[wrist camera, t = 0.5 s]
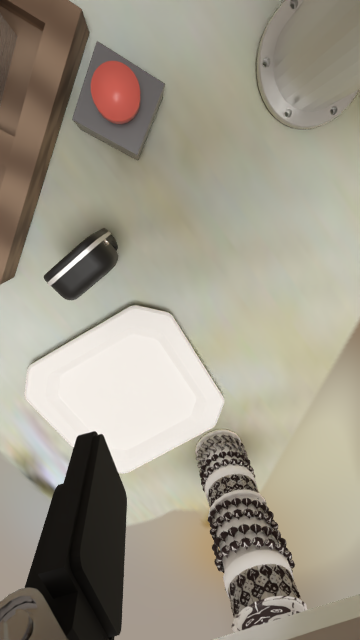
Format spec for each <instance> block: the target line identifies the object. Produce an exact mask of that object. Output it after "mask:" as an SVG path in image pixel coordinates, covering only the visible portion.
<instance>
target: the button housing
mask: <svg viewBox="0 0 360 640" xmlns="http://www.w3.org/2000/svg"><path fill="white" fill-rule="evenodd" d="M107 61H118V62H121V63H123V64H125V65H126V66H128V67H129V68H130V69H131V70H132V71H133V73H134V74H135V76H136V78H137V80H138V83H139V87H140V107H139V110H138V112H137V114H136V116H135V117H134V118H133V119H132V120H131V121H129V122H127V123H124V124H115V123H112V122H110V121H108V120H106V119H105V118H104V117H103V116H102V115H101V114H100V112H99V111H98V109H97V107H96V105H95V103H94V101H93V98H92V94H91V80H92V76H93V74H94V72H95V70H96V69H97V68H98V67H99V66H100V65H101V64H102V63H105V62H107ZM164 86H165V83H163V82H161V81H160V80H158V79H157V78H155V77H153V76H152V75H150V74H149V73H147V72H145V71H144V70H142V69H141V68H139V67H138V66H136V65H134V64H133V63H131V62H130V61H128V60H126V59H125V58H123V57H122V56H120V55H118V54H117V53H115V52H114V51H112V50H111V49H109V48H107V47H106V46H104V45H103V44H101V43H99V42H98V41H97V43H96V46H95V49H94V52H93V55H92V58H91V61H90V65H89V68H88V71H87V74H86V77H85V80H84V84H83V87H82V90H81V93H80V96H79V99H78V103H77V106H76V109H75V112H74V115H73V118H72V120H73V121H74V122H75V123H76V124H77V126H78V127H79V128H80V129H81V130H83V131H85V132H87V133H88V134H90V135H92V136H94V137H96V138H98V139H100V140H101V141H103V142H105V143H107V144H109V145H111V146H112V147H114V148H116V149H118V150H120V151H122V152H123V153H125V154H127V155H129V156H131V157H133V158H134V159H136V160H138V159H139V157H140V154H141V152H142V149H143V147H144V144H145V142H146V139H147V136H148V134H149V131H150V129H151V126H152V124H153V121H154V118H155V116H156V113H157V111H158V108H159V106H160V103H161V101H162V98H163V92H164Z"/></svg>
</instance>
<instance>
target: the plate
mask: <svg viewBox="0 0 360 640" xmlns="http://www.w3.org/2000/svg"><path fill="white" fill-rule="evenodd" d="M24 396H25V399H26V400H27V401H28V402H29V403H30V404H31V405H32V406H33V408H34V409H35V410H36V411H37V412H38V413H39V414H40V415H41V416H42V417H43V418H44V419H45V420H46V421H47V422H48V423H49V424H50V425H51V426H52V427H53V428H54V429H55V430H56V431H57V432H58V433H59V434H60V435H61V436H62V437H63V438H64V439H65V440H66V441H67V442H68V443H69V444H70V445H71V446H72V447H73V448H74V445H75V442H76V438H77V436H78V435H82V434H85V433H89V432H93V431H96V432H97V434H98V435H99V434H103V436H104V438H105V440H106V443H107V445H108V448H109V451H110V453H111V456H112V458H113V461H114V463H115V466H116V468H117V471H118V473H128V472H130V471H132V470H134V469H136V468H138V467H140V466H142V465H144V464H145V463H147V462H149V461H151V460H153V459H155V458H157V457H159V456H161V455H162V454H164V453H166V452H168V451H170V450H172V449H174V448H176V447H178V446H179V445H181V444H183V443H185V442H187V441H189V440H191V439H193V438H195V437H196V436H198V435H200V434H202V433H204V432H206V431H208V430H210V429H212V428H213V427H214V426H215V425H216V423H217V421H218V418H219V415H220V413H221V410H222V408H223V405H224V397H223V396H222V394H221V392H220V391H219V389H218V388H217V386H216V384H215V383H214V381H213V380H212V378H211V376H210V375H209V373H208V372H207V370H206V368H205V367H204V365H203V364H202V362H201V360H200V359H199V357H198V356H197V354H196V352H195V351H194V349H193V348H192V346H191V344H190V343H189V341H188V340H187V338H186V336H185V335H184V333H183V332H182V330H181V328H180V327H179V325H178V324H177V322H176V320H175V319H174V317H173V316H172V315H171V314H170V313H168V312H165V311H161V310H156V309H152V308H147V307H143V306H138V305H133V306H129V307H128V308H126V309H124V310H123V311H121V312H119V313H117V314H116V315H114V316H112V317H111V318H109V319H107V320H106V321H104V322H102V323H100V324H99V325H97V326H95V327H94V328H92V329H90V330H88V331H87V332H85V333H83V334H82V335H80V336H78V337H77V338H75V339H73V340H71V341H70V342H68V343H66V344H65V345H63V346H61V347H60V348H58V349H56V350H54V351H53V352H51V353H49V354H48V355H46V356H44V357H42V358H41V359H39V360H37V361H36V362H34V363H32V364H31V365H30V366H29V367H28V369H27V376H26V385H25V393H24Z"/></svg>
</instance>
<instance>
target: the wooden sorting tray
mask: <svg viewBox="0 0 360 640" xmlns="http://www.w3.org/2000/svg"><path fill="white" fill-rule="evenodd" d="M88 36H89V31H88V27H87V24H86V21H85V18H84V15H83V12H82V9H81V8H79V7H78V6H76V5H75V4H73V3H72V2H70V1H69V0H0V284H2V283H4V282H6V281H8V280H10V279H12V278H13V277H14V276H15V273H16V269H17V266H18V263H19V260H20V256H21V253H22V250H23V247H24V243H25V240H26V237H27V234H28V230H29V227H30V224H31V221H32V217H33V214H34V211H35V208H36V205H37V201H38V198H39V195H40V192H41V188H42V185H43V182H44V179H45V175H46V172H47V169H48V166H49V162H50V159H51V156H52V153H53V149H54V146H55V143H56V140H57V136H58V133H59V130H60V127H61V123H62V120H63V117H64V114H65V110H66V107H67V104H68V101H69V97H70V94H71V91H72V88H73V84H74V81H75V78H76V75H77V71H78V68H79V65H80V62H81V58H82V55H83V52H84V49H85V45H86V42H87V39H88Z"/></svg>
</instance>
